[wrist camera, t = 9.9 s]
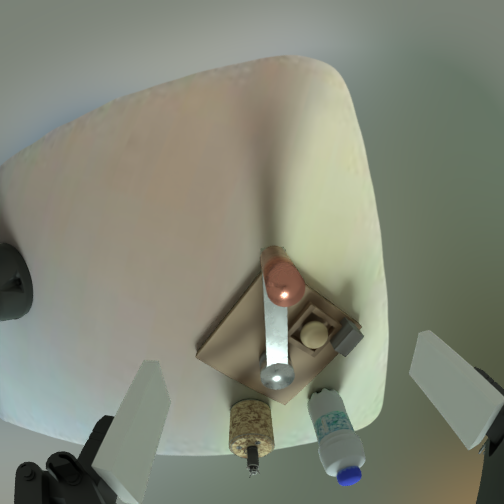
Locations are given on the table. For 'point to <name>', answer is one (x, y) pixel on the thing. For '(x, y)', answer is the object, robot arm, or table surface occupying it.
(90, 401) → the table surface
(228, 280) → the table surface
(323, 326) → the nut
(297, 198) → the table surface
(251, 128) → the table surface
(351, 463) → the bottle
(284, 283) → the lever
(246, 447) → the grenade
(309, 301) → the square wooden tray
